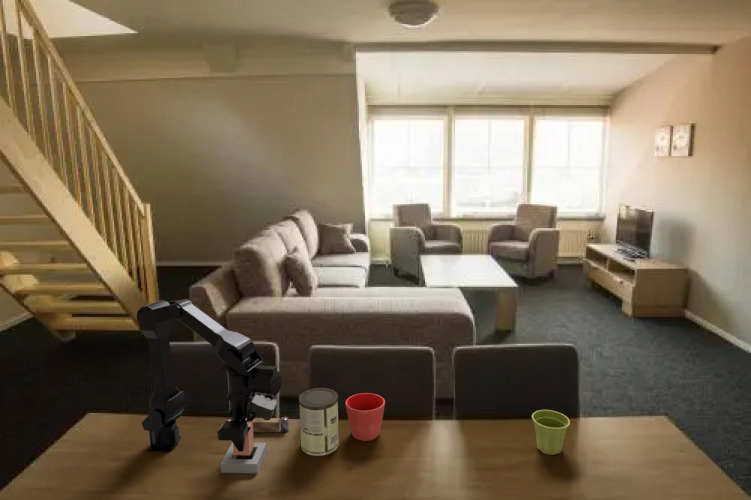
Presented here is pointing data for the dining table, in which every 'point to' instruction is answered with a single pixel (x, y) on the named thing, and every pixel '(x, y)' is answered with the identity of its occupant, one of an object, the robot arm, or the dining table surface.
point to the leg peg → (246, 442)
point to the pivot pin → (284, 424)
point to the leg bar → (266, 425)
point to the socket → (244, 460)
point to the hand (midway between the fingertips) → (243, 446)
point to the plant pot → (550, 430)
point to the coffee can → (319, 421)
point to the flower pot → (365, 415)
